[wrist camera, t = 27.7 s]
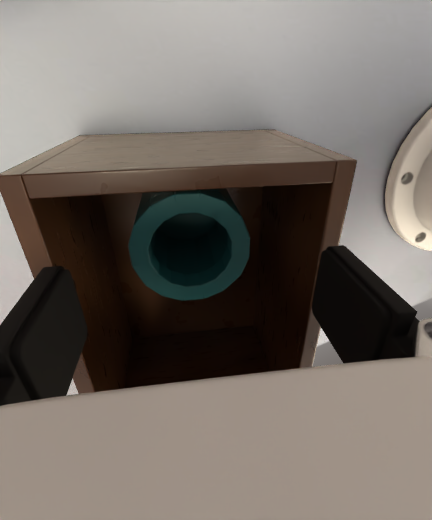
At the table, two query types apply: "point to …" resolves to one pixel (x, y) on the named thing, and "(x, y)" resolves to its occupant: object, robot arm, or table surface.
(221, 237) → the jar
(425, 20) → the table surface
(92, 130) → the table surface
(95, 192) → the chest
